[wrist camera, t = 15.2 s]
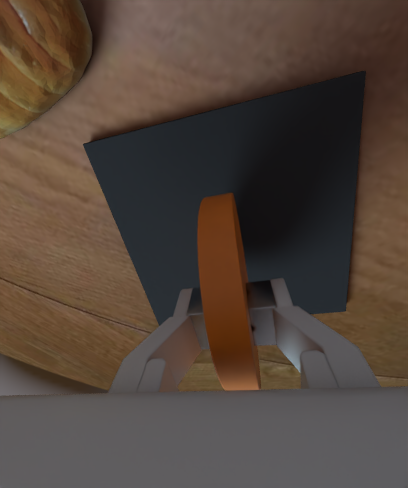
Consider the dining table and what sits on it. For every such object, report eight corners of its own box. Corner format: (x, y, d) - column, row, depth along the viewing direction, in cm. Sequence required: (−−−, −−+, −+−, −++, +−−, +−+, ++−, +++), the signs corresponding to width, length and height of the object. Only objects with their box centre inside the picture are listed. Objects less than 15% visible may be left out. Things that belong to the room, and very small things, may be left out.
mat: (88, 143, 13) (82, 144, 12) (359, 72, 10) (366, 69, 10) (161, 321, 19) (159, 326, 18) (342, 305, 16) (346, 311, 16)
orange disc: (208, 177, 12) (180, 265, 5) (231, 172, 12) (235, 258, 5) (232, 292, 16) (235, 434, 9) (250, 290, 15) (267, 434, 8)
